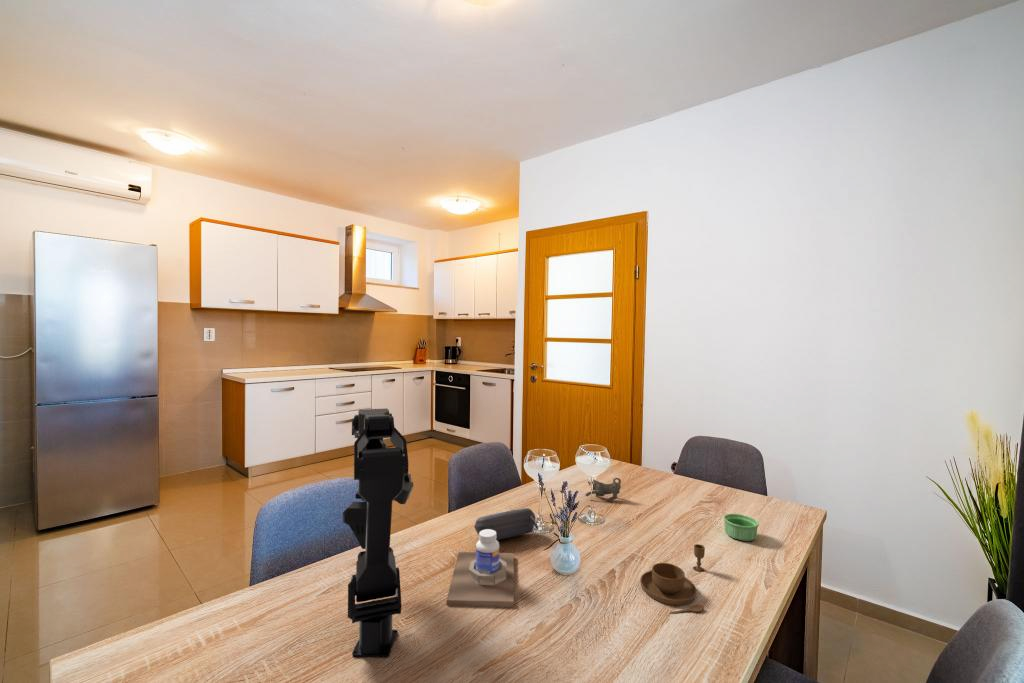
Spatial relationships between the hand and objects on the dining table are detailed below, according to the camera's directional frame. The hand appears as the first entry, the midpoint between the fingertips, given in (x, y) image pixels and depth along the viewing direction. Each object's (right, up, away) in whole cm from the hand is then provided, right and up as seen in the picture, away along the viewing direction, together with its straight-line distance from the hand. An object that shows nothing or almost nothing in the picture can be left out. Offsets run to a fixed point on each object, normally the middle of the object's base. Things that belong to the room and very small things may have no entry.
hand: (372, 538), depth 95 cm
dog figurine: (+62, -12, +58) cm, 86 cm away
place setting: (+69, -14, +5) cm, 71 cm away
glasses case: (+29, -12, +26) cm, 40 cm away
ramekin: (+96, -14, +32) cm, 102 cm away
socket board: (+24, -12, +6) cm, 27 cm away
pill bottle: (+25, -11, +6) cm, 28 cm away
